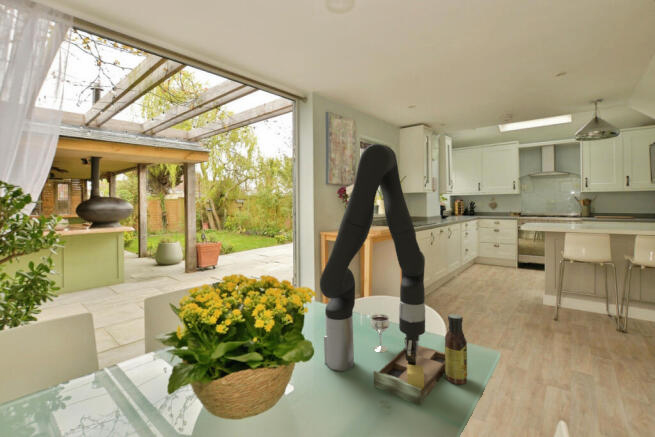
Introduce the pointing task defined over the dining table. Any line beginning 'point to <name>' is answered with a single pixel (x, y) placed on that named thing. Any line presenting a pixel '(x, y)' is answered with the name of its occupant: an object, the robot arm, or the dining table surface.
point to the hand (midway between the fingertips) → (411, 370)
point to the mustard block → (415, 376)
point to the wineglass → (380, 328)
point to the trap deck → (396, 375)
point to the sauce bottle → (455, 351)
